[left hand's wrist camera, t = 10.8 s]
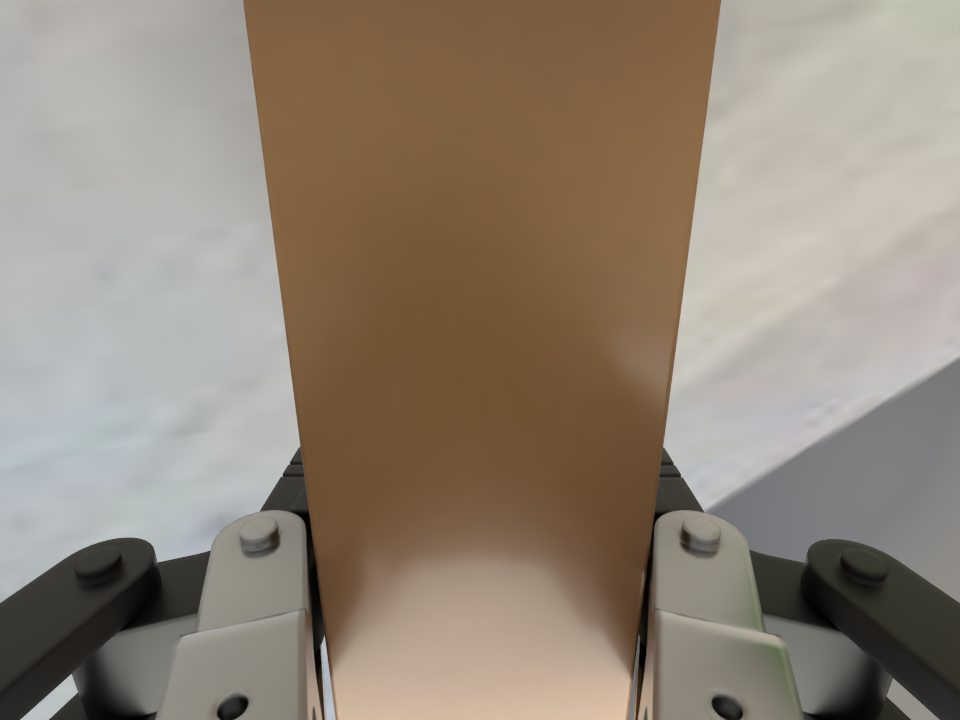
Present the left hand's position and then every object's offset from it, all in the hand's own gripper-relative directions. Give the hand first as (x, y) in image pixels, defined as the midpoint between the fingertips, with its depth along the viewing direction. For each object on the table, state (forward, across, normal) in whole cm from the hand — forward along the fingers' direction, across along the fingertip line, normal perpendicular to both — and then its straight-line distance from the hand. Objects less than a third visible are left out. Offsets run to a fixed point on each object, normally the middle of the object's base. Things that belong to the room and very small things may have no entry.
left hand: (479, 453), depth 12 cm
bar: (+5, 0, -9) cm, 11 cm away
